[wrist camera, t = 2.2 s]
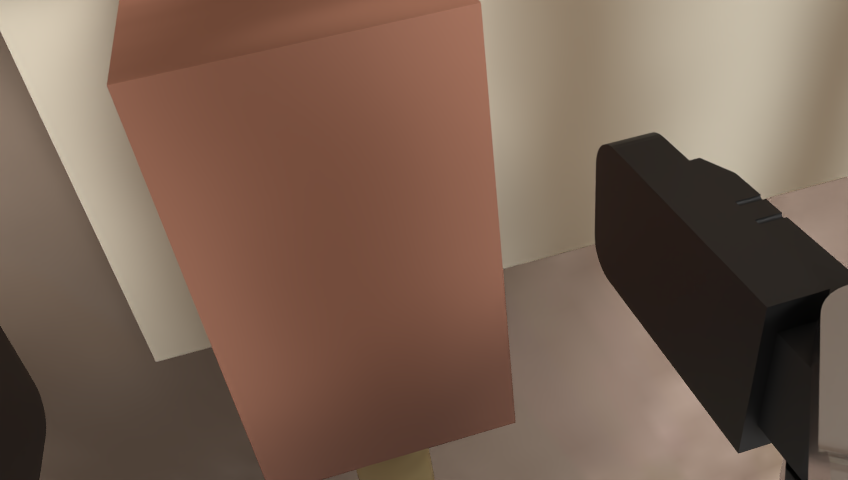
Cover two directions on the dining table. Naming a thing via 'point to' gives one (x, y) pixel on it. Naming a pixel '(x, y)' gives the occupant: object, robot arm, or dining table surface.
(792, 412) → the robot arm
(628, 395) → the dining table surface
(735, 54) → the board
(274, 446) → the reddish-brown block with stick
